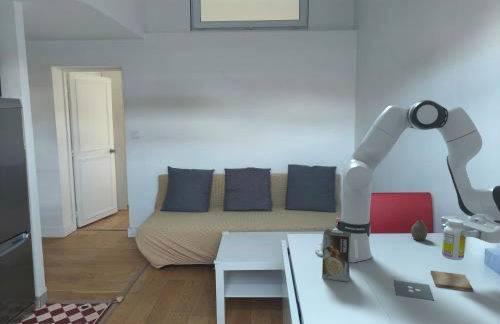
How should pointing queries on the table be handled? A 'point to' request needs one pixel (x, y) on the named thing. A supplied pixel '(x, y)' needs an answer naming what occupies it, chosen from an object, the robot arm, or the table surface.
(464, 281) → the walnut board
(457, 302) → the table surface
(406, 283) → the slate mat
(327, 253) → the coffee box
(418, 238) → the vase
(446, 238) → the supplement bottle
